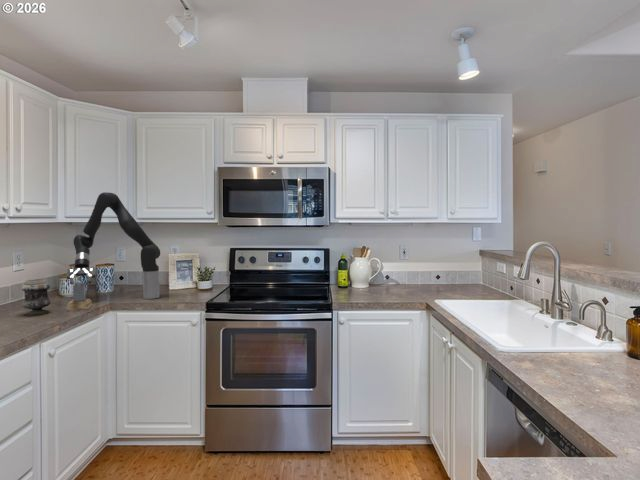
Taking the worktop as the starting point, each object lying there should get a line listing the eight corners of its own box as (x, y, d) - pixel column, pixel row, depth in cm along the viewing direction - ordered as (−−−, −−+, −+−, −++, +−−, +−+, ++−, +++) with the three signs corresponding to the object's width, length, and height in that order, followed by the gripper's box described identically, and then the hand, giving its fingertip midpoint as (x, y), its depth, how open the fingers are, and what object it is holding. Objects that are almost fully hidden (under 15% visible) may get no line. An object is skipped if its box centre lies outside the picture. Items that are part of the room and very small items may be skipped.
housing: (86, 299, 207) (85, 280, 206) (85, 301, 202) (84, 281, 201) (74, 300, 204) (73, 281, 204) (72, 302, 199) (71, 282, 199)
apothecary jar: (46, 309, 200) (45, 277, 199) (55, 312, 193) (53, 279, 192) (18, 314, 190) (17, 280, 189) (27, 317, 183) (25, 282, 182)
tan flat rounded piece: (91, 305, 210) (91, 298, 209) (88, 309, 200) (87, 302, 200) (71, 307, 206) (70, 300, 206) (66, 311, 196) (66, 303, 196)
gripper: (67, 258, 215) (65, 280, 205) (95, 257, 222) (94, 278, 212) (68, 266, 220) (66, 288, 210) (96, 265, 226) (95, 286, 217)
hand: (80, 283), depth 211 cm, fingers open, 8 cm apart
